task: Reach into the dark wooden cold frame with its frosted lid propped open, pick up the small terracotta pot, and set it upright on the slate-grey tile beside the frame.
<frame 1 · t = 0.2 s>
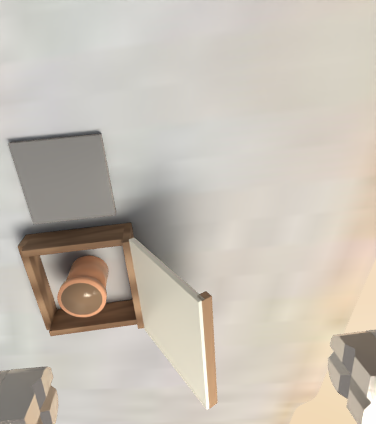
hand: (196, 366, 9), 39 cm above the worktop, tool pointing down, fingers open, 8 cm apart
slate tile: (67, 179, 46), on the worktop
cold frame lid: (170, 316, 42), point 13 cm above the worktop, hinge at 118.0°
terracotta pot: (86, 284, 50), in the cold frame
cold frame: (89, 271, 53), on the worktop
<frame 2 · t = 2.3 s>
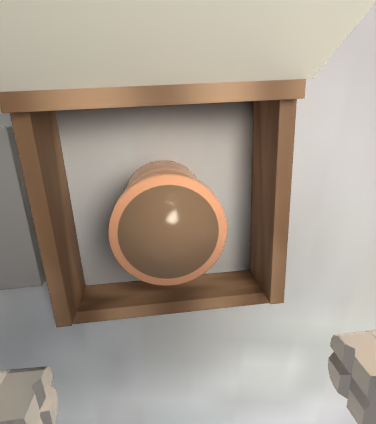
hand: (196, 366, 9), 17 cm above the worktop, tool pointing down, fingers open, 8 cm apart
terracotta pot: (166, 213, 22), in the cold frame
cold frame: (163, 199, 25), on the worktop
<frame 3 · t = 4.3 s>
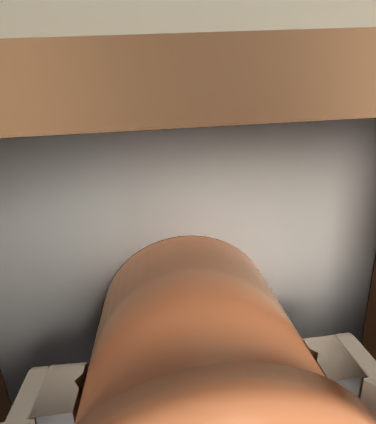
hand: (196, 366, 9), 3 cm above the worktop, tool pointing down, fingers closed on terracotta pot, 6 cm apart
terracotta pot: (201, 393, 8), in the cold frame, touching gripper
cold frame: (188, 311, 12), on the worktop
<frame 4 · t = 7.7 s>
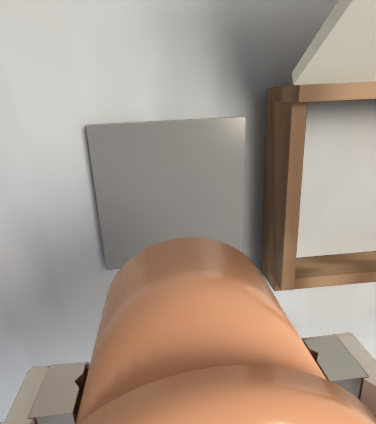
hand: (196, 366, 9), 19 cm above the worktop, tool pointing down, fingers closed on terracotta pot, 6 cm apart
slate tile: (171, 194, 27), on the worktop
terracotta pot: (201, 395, 8), point 20 cm above the worktop, touching gripper
cold frame: (353, 182, 28), on the worktop
when the fingers open (5 cm above the worktop, at t = 11.2 s): terracotta pot drops 1 cm, resting on slate tile.
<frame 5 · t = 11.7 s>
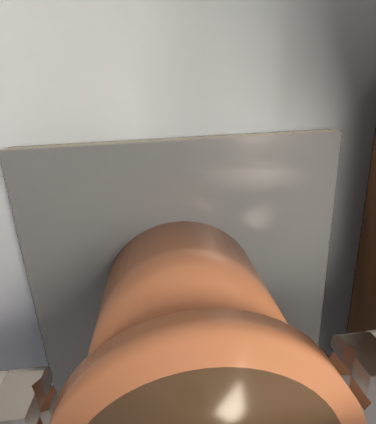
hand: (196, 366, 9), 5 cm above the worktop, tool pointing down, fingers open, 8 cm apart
slate tile: (183, 277, 14), on the worktop
terracotta pot: (191, 353, 10), on the slate tile, point 4 cm above the worktop
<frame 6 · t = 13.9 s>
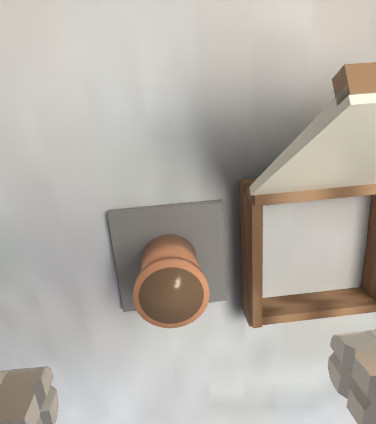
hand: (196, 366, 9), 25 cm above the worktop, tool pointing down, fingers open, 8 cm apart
slate tile: (170, 255, 36), on the worktop
terracotta pot: (170, 276, 32), on the slate tile, point 4 cm above the worktop
cold frame: (309, 241, 37), on the worktop
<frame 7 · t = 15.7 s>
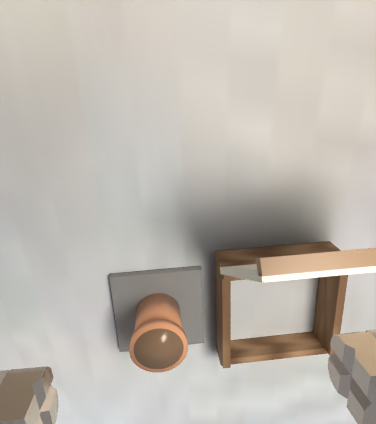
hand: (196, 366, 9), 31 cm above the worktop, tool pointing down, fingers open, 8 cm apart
slate tile: (159, 307, 45), on the worktop
cold frame lid: (323, 260, 30), point 13 cm above the worktop, hinge at 118.0°
terracotta pot: (158, 329, 41), on the slate tile, point 4 cm above the worktop
cold frame: (270, 296, 46), on the worktop
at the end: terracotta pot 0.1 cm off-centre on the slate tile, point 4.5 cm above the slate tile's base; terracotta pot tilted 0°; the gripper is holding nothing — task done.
